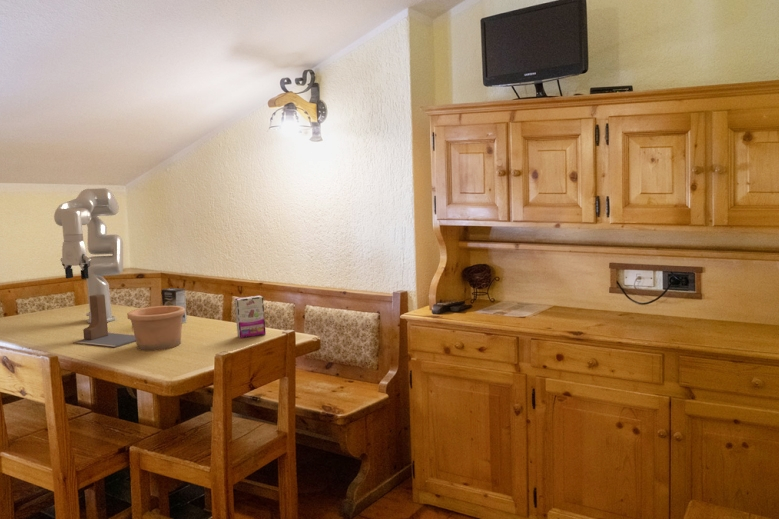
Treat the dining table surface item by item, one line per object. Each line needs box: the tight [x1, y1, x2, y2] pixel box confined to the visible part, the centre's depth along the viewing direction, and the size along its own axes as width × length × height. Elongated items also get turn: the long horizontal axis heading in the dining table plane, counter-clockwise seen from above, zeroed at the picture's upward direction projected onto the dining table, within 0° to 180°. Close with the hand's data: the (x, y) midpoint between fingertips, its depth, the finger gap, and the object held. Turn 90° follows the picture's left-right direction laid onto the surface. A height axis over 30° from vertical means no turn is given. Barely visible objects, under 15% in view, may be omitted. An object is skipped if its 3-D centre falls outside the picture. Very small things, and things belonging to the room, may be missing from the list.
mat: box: [72, 331, 136, 349], centre depth 270 cm, size 24×18×1 cm
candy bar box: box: [234, 295, 266, 339], centre depth 270 cm, size 11×5×16 cm, turn 118°
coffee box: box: [161, 287, 188, 324], centre depth 301 cm, size 9×6×16 cm
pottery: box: [126, 305, 185, 352], centre depth 258 cm, size 22×22×14 cm
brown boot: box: [82, 294, 109, 340], centre depth 273 cm, size 9×4×18 cm, turn 155°
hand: (77, 278), depth 275 cm, fingers open, 9 cm apart
